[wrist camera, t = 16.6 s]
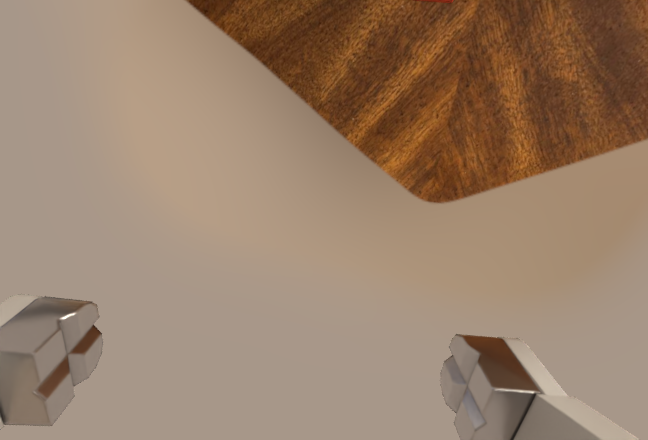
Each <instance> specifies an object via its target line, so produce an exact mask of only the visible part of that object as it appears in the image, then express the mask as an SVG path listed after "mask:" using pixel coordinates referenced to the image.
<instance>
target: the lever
mask: <svg viewBox="0 0 648 440" xmlns="http://www.w3.org/2000/svg"><path fill="white" fill-rule="evenodd" d="M415 1H428V2H442V3H452V2H453V0H415Z"/></svg>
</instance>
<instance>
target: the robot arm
mask: <svg viewBox="0 0 648 440" xmlns="http://www.w3.org/2000/svg"><path fill="white" fill-rule="evenodd" d="M98 318H99V313H98V308H97V305H96V304H94V303H92V302H90V301H82V300H72V299H63V298H55V297H46V296H45V297H41V296H32V295H23V294H19V295H15V296H11V297H9V298H8V299H7V300H5V301H4V302H3V303H1V304H0V430H1V429H2V428H3V427H4V425H33V426H52V425H53V424H54V423H55V421H56V420H57V419H58V417H59V416H60V415H61V413H62V412H63V411H64V410H65V408H66V407H67V405H68V404H69V403H70V402H71V400H72V399H73V398H74V386H75V385H77V384H79V383H81V382H82V381H84V380H85V379H87V378H89V376H90V375H91V373H92V372H93V371H94V369H95V368H96V366H97V363H98V361H99V359H100V356H101V354H102V346H103V339H102V333H101V332H100V331H99V330H98V329H97V328H96V327H95V326H94V323H95V322H96V321H97V320H98ZM449 348H450V350H451V352H452V356H451V357H450V358H448V359H447V360H446V361H444V363H443V367H442V370H441V389H442V394H443V397H444V400H445V402H446V404H447V405H448V406H449V407H450V408H451V409H452V410H453V411H454V412H455V413H456V417H455V420H454V425H455V427H456V429H457V432H458V434H459V437H460V439H461V440H639V439H638V438H636V437H635V436H633V435H632V434H630V433H629V432H627V431H626V430H624V429H623V428H621V427H620V426H618V425H617V424H615V423H614V422H612V421H611V420H609V419H608V418H606V417H605V416H603V415H602V414H600V413H599V412H597V411H596V410H594V409H592V408H591V407H589V406H588V405H586V404H585V403H583V402H582V401H580V400H579V399H577V398H576V397H571V396H567V394H566V393H565V392H564V391H563V389H562V388H561V387H560V386H559V384H558V383H557V382H556V381H555V380H554V378H553V377H552V376H551V374H550V373H549V372H548V371H547V369H546V368H545V367H544V366H543V364H542V363H541V362H540V361H539V359H538V358H537V357H536V356H535V354H534V353H533V352H532V351H531V349H530V348H529V347H528V346H527V344H526V343H525V342H524V341H522V340H520V339H518V338H505V337H497V338H496V337H485V336H472V335H460V334H456V335H455V336H454V337H453V338H452V340H451V343H450V346H449Z"/></svg>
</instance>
